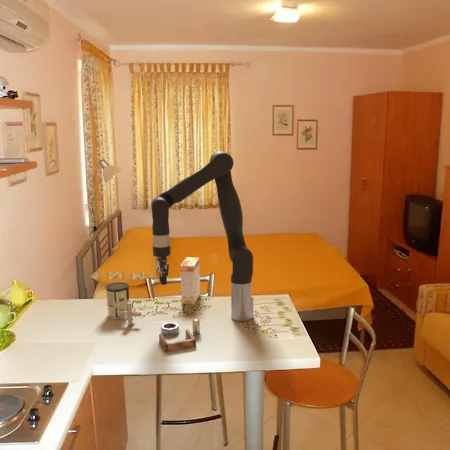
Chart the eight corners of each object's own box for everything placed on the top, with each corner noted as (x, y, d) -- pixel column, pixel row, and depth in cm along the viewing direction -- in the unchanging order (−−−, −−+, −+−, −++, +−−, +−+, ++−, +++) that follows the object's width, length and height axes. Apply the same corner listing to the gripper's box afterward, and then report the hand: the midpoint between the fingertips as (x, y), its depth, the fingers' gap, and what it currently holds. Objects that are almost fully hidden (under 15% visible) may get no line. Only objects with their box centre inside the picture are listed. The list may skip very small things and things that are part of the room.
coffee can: (119, 308, 228) (117, 280, 225) (135, 313, 223) (133, 284, 220) (102, 316, 220) (100, 287, 217) (119, 320, 214) (117, 291, 211)
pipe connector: (136, 329, 205) (135, 307, 203) (115, 328, 207) (113, 306, 205) (145, 320, 214) (144, 299, 212) (124, 319, 216) (123, 298, 214)
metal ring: (175, 328, 206) (175, 321, 205) (180, 334, 200) (179, 327, 199) (160, 330, 204) (159, 324, 203) (164, 337, 197) (163, 330, 197)
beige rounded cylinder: (198, 331, 202) (198, 318, 201) (200, 334, 200) (200, 320, 198) (191, 332, 201) (191, 319, 200) (193, 335, 199) (193, 321, 197)
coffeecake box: (187, 293, 248) (186, 257, 244) (200, 293, 247) (199, 257, 243) (180, 303, 234) (179, 265, 230) (195, 304, 233) (194, 265, 229)
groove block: (188, 336, 198) (188, 329, 197) (196, 346, 189) (195, 339, 188) (159, 341, 194) (158, 334, 193) (165, 352, 184) (165, 345, 184)
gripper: (174, 247, 197) (175, 287, 201) (166, 239, 210) (167, 277, 214) (156, 249, 195) (158, 289, 198) (149, 241, 207) (151, 279, 211)
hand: (163, 282), depth 206 cm, fingers open, 3 cm apart
